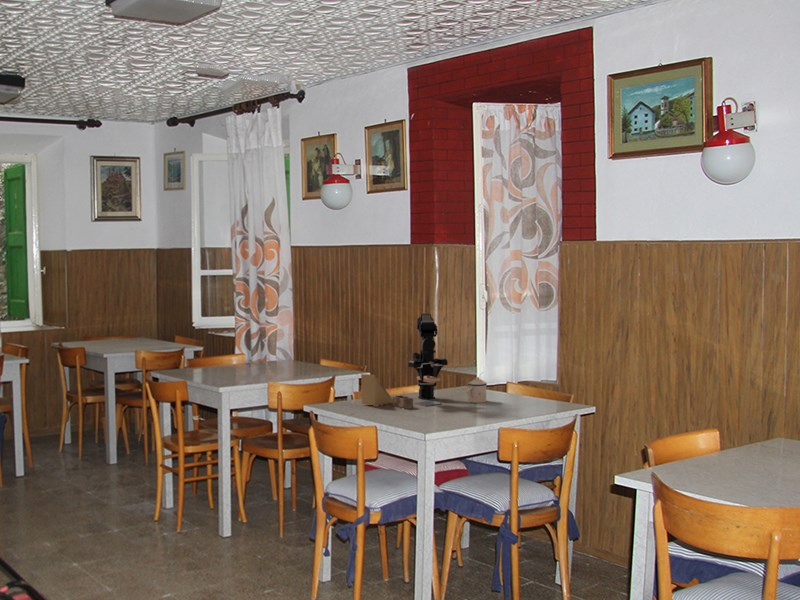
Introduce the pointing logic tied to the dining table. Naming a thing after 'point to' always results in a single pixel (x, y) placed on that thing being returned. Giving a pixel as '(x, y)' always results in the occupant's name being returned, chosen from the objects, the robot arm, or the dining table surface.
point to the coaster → (428, 403)
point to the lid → (429, 379)
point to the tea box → (403, 401)
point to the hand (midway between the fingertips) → (428, 381)
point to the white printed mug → (476, 391)
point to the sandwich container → (373, 391)
